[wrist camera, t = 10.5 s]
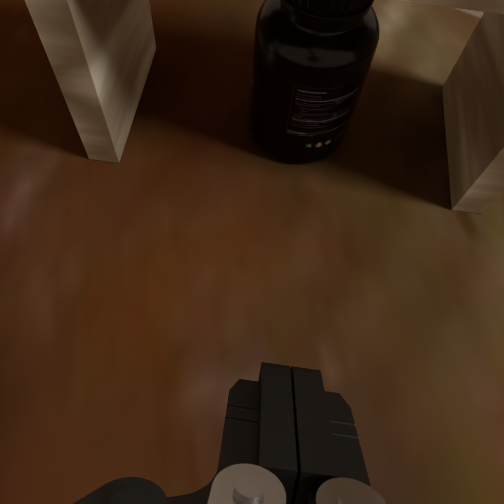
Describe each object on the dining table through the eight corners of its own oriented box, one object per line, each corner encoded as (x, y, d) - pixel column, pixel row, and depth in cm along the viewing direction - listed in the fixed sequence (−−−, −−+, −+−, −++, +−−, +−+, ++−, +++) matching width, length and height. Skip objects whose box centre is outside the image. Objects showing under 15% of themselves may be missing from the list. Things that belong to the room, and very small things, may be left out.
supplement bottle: (236, 102, 34) (243, -78, 23) (323, 86, 35) (369, -92, 24) (265, 177, 31) (288, 12, 20) (359, 157, 32) (429, -9, 21)
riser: (89, 158, 30) (-15, -97, 17) (130, 44, 35) (74, -222, 22) (482, 214, 30) (687, -1, 17) (468, 92, 35) (618, -149, 22)
